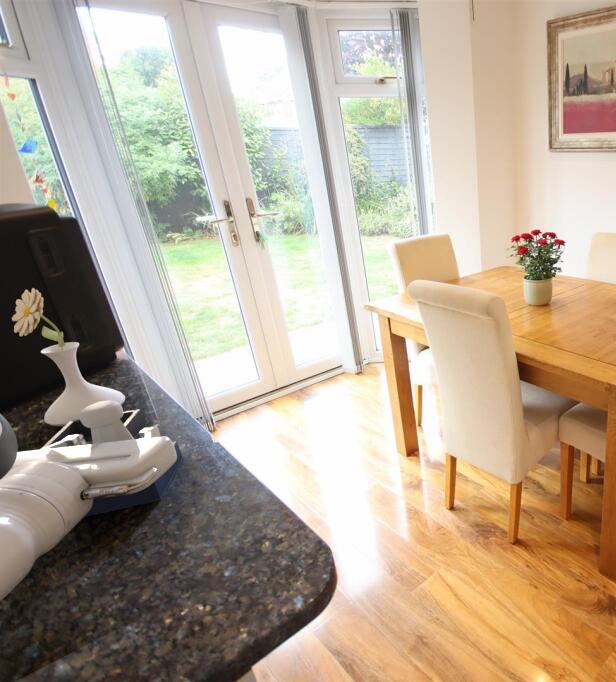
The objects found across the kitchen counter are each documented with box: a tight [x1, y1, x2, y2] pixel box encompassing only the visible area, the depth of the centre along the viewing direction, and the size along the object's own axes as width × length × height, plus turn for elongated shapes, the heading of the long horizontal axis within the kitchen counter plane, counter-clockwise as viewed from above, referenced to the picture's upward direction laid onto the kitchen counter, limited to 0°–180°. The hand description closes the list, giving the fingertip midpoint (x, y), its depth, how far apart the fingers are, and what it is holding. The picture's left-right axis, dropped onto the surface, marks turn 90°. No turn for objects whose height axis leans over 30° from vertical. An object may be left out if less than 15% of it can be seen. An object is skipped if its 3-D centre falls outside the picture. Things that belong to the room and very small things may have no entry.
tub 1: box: [41, 408, 147, 448], centre depth 75 cm, size 10×10×3 cm
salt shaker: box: [79, 400, 134, 444], centre depth 63 cm, size 6×6×13 cm
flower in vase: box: [11, 287, 126, 427], centre depth 80 cm, size 13×11×25 cm
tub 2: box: [83, 441, 184, 518], centre depth 65 cm, size 10×10×3 cm
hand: (116, 434), depth 64 cm, fingers open, 8 cm apart
